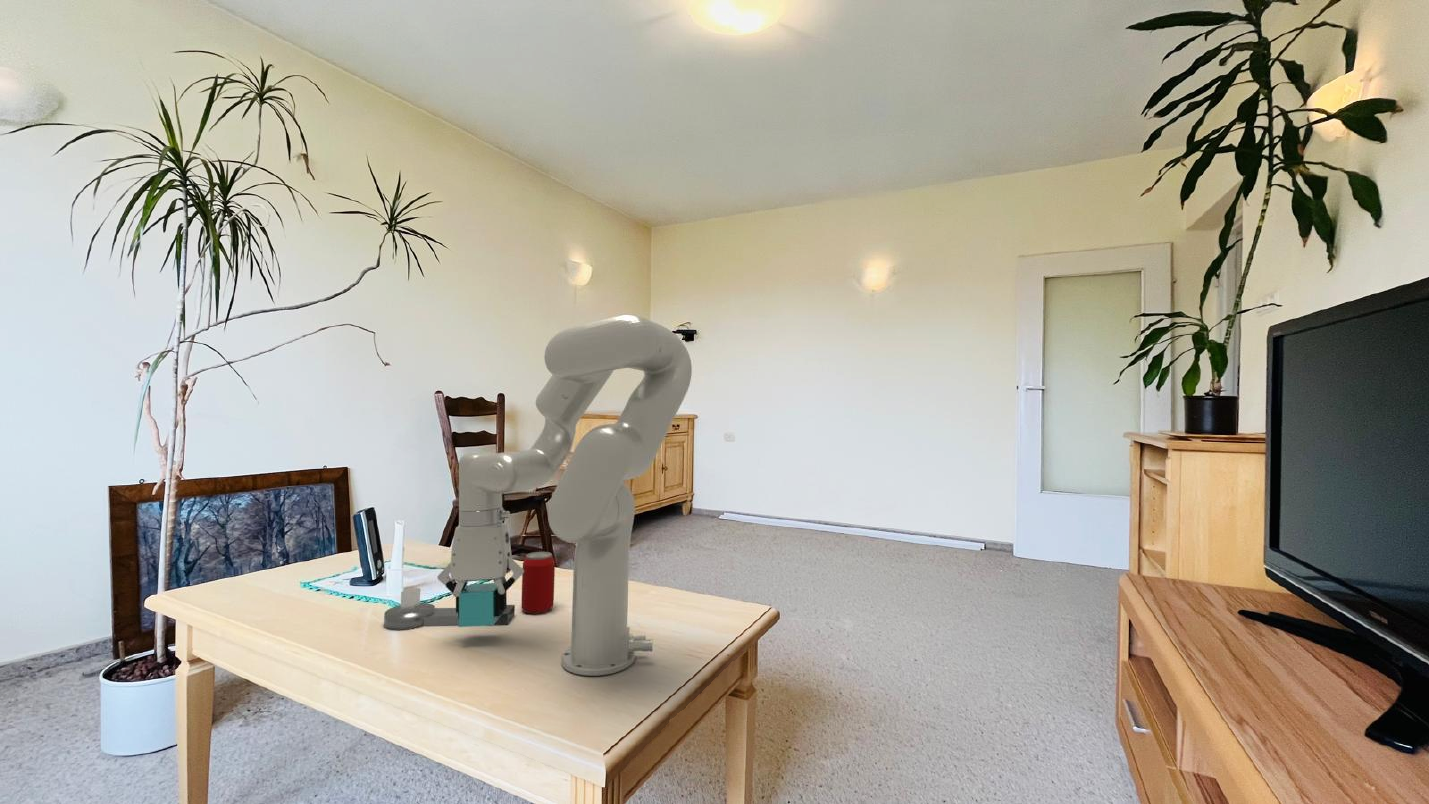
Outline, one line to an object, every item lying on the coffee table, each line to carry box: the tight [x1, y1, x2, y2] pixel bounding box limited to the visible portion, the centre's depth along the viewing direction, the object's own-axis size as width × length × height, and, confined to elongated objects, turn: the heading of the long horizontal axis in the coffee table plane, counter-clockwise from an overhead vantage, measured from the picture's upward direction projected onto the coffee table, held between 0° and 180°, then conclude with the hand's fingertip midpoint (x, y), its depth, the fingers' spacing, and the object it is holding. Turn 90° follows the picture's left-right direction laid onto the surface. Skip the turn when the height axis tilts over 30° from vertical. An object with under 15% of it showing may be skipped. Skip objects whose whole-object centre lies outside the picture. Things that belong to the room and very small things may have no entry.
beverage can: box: [521, 551, 556, 615], centre depth 120 cm, size 7×7×12 cm
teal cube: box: [458, 582, 503, 628], centre depth 103 cm, size 6×6×6 cm
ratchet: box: [383, 587, 516, 632], centre depth 112 cm, size 24×9×6 cm, turn 96°
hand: (481, 614), depth 102 cm, fingers closed on teal cube, 6 cm apart
